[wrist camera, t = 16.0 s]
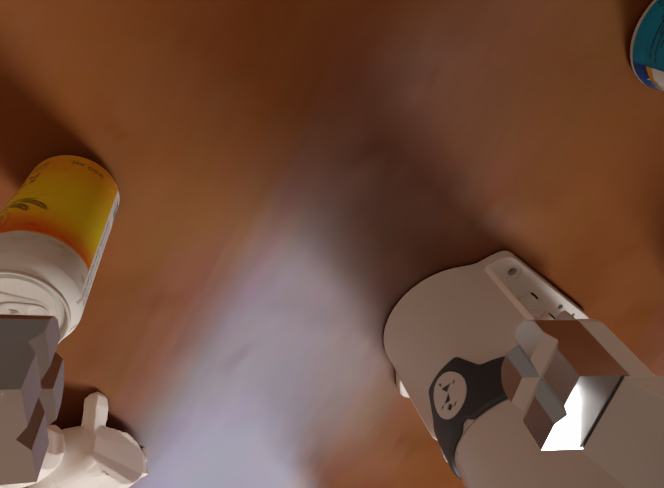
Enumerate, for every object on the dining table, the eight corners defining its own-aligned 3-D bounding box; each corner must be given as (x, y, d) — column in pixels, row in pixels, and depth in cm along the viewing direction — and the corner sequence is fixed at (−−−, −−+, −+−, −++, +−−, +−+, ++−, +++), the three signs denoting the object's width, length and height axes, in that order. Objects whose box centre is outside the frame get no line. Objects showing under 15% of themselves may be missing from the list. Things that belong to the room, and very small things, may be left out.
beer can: (32, 142, 36) (-63, 255, 24) (125, 160, 38) (83, 275, 26) (28, 218, 39) (-59, 357, 26) (116, 232, 41) (73, 368, 28)
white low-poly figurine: (153, 412, 55) (47, 368, 43) (164, 495, 50) (48, 471, 38) (82, 447, 56) (-42, 412, 44) (87, 531, 51) (-52, 519, 39)
